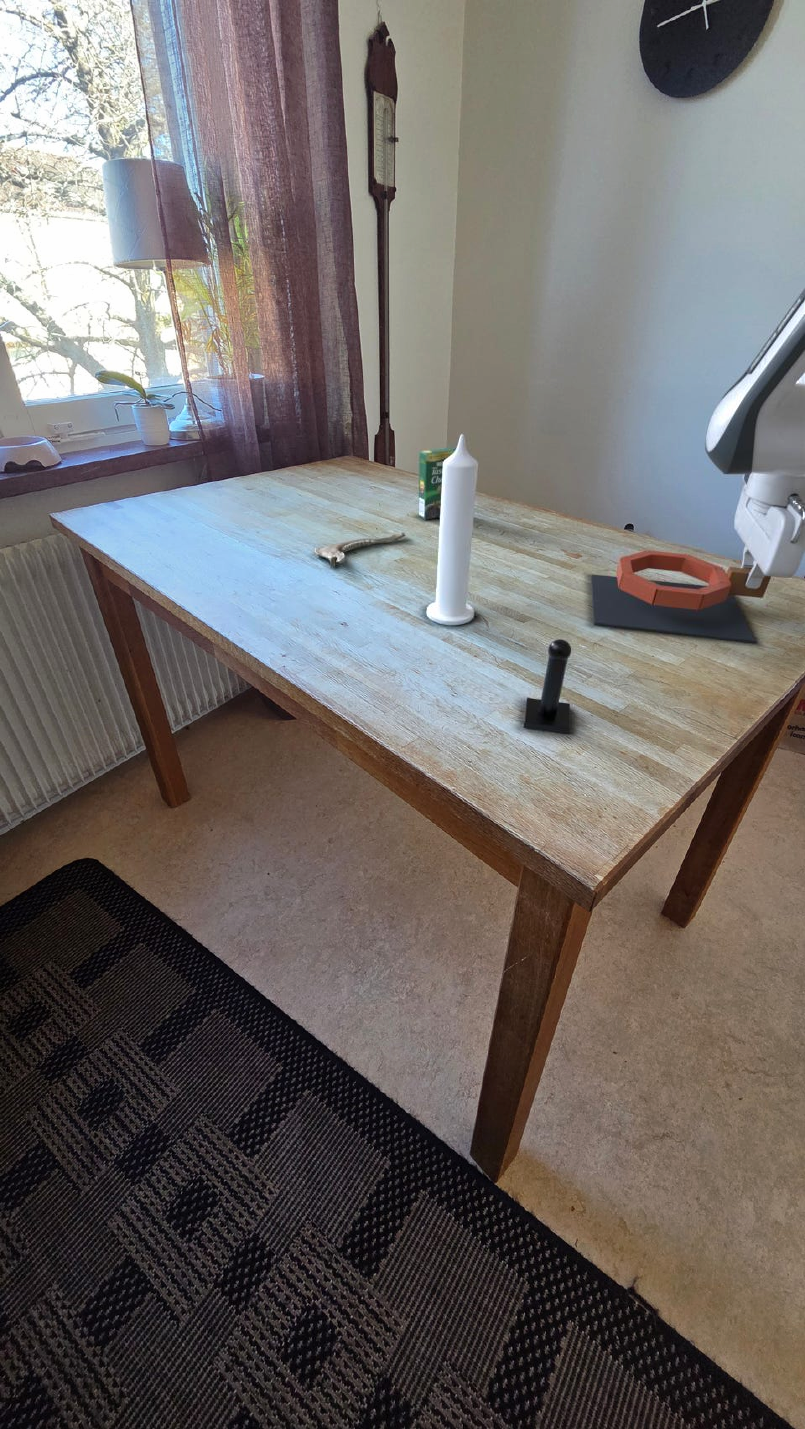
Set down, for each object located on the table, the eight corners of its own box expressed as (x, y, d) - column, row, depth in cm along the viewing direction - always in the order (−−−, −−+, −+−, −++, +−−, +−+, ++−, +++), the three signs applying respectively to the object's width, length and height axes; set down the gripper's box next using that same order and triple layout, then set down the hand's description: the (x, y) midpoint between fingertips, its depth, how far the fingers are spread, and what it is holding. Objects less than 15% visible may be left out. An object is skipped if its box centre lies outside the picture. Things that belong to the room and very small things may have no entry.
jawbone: (301, 564, 106) (299, 552, 105) (369, 532, 120) (368, 522, 119) (341, 572, 102) (340, 560, 100) (407, 538, 116) (407, 527, 114)
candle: (450, 599, 94) (462, 426, 79) (483, 616, 90) (502, 435, 75) (416, 612, 90) (422, 433, 76) (449, 630, 86) (462, 443, 71)
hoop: (749, 575, 95) (757, 553, 93) (774, 618, 83) (784, 595, 81) (614, 561, 99) (619, 540, 97) (620, 601, 87) (626, 578, 85)
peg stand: (568, 708, 71) (585, 632, 65) (568, 734, 67) (586, 655, 61) (526, 702, 72) (538, 627, 66) (523, 727, 68) (536, 649, 62)
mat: (728, 590, 99) (729, 588, 98) (755, 643, 84) (756, 641, 84) (591, 576, 102) (591, 574, 102) (593, 625, 88) (594, 622, 88)
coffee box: (423, 521, 124) (425, 453, 116) (416, 516, 126) (418, 450, 118) (456, 515, 127) (461, 449, 119) (449, 511, 129) (453, 446, 121)
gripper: (838, 511, 72) (791, 616, 80) (789, 467, 88) (754, 558, 96) (781, 506, 73) (741, 610, 81) (743, 464, 89) (712, 554, 97)
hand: (748, 581), depth 88 cm, fingers closed on hoop, 2 cm apart
